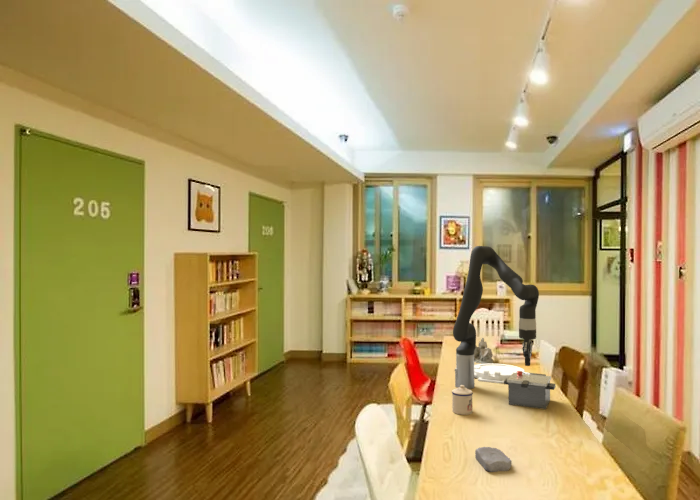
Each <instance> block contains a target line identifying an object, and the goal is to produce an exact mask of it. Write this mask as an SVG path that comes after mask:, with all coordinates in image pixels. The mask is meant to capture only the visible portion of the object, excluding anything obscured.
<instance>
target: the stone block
mask: <svg viewBox="0 0 700 500" xmlns="http://www.w3.org/2000/svg"><path fill="white" fill-rule="evenodd" d="M474 453H475V455H474V457H475V459H476V461H477V462H478V463H479V464H480V465H481V466H482V467H483V469H484V470H485V471H487V472H489V473H492V472H494V473H495V472H509V470H510V469H511V467H512V464H513V463H512V461H513V460H511V459H510V457H508V456H507V455H506V454H505V453H504V452H503V451H502V450H501V449H499V448H496V447H490V446H483V447H478V448H476V449H475V452H474Z"/></svg>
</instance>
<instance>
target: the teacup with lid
mask: <svg viewBox="0 0 700 500" xmlns="http://www.w3.org/2000/svg"><path fill="white" fill-rule="evenodd" d="M451 394H452V395H451V397H452V403H451V404H452V406H451V408H452V412H453V413H454V414H457V415H463V416H466V415H471V414H472V413H473V411H474V410H473V394H474V392H473V391H472V390H471V389H467V388H465V386H464V385H460V387H456V388H454V389H452V390H451Z"/></svg>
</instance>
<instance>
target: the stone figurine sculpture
mask: <svg viewBox="0 0 700 500" xmlns="http://www.w3.org/2000/svg"><path fill="white" fill-rule="evenodd" d="M487 343H488V342H487V341H485V338H484V337H481V339H480V341H479V342H478V345H476V348H475V351H474V363H475V362H476V363H477V364H480V363H481V364H487V363H494V360H493V356H494V355H493V352H492V348H490V347H488V344H487Z"/></svg>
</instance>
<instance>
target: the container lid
mask: <svg viewBox="0 0 700 500" xmlns="http://www.w3.org/2000/svg"><path fill="white" fill-rule="evenodd" d="M517 371H522V372H526V371H525V369H524V368H522V367H519V366H516V365H512V364H508V363H506V364H504V363H494V362H493V363H487V364H480V363H477V364H474V379H475V378H476V379H477V381H478V382H484V383H495V384H504V381H505V380H506V378H507V379H508V378H509V377H510V376H511V375H512V374H513V373H517ZM504 385H505V384H504Z"/></svg>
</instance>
